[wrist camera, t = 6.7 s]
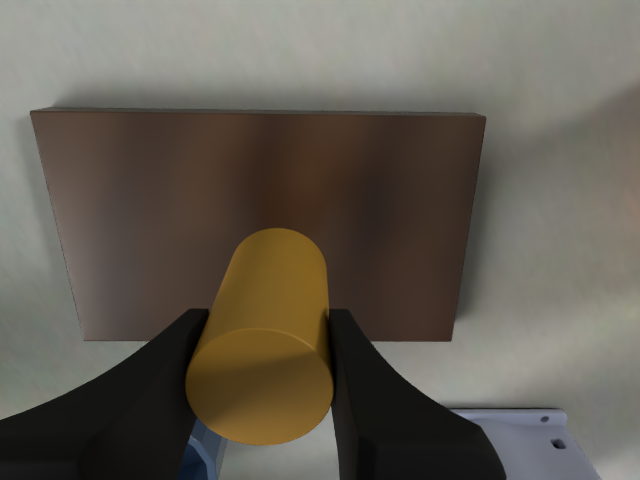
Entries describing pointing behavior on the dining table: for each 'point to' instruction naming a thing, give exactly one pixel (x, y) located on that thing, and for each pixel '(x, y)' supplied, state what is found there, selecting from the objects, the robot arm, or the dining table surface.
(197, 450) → the cup
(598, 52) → the dining table surface
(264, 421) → the peg
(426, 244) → the board
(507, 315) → the dining table surface
